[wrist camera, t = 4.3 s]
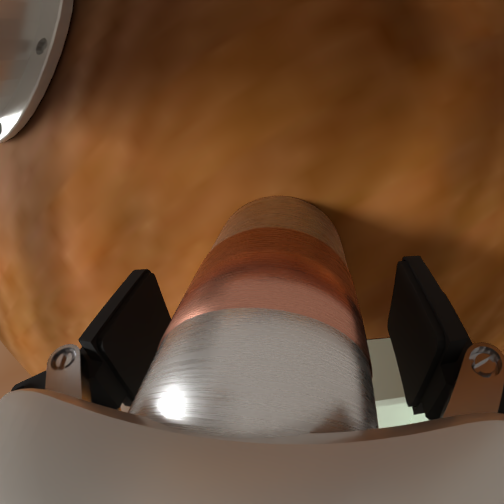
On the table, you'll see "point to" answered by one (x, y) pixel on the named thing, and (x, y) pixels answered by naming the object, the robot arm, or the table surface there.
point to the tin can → (265, 334)
